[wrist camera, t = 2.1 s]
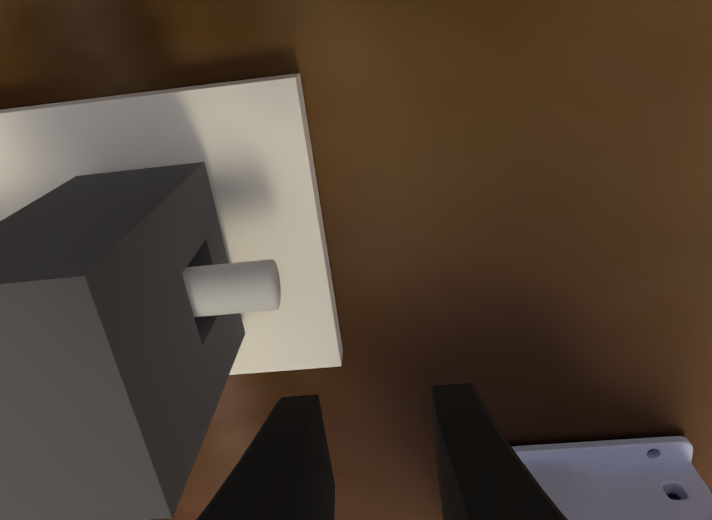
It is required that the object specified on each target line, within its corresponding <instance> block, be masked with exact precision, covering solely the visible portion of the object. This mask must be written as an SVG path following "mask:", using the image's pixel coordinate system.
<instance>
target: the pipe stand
mask: <svg viewBox="0 0 712 520" xmlns="http://www.w3.org/2000/svg"><path fill="white" fill-rule="evenodd" d="M198 162H205V166H206V170H207V174H208V178H209V183H210V187H211V191H212V195H213V199H214V204H215V208H216V212H217V216H218V220H219V225H220V229H221V233H222V237H223V241H224V246H225V250H226V254H227V258H228V262H229V263H227V264H216V265H206V266H195V267H186V268H185V270H184V271H183V273H182V275H183V279H184V282H185V286H186V290H187V293H188V297H189V300H190V304H191V308H192V311H193V315H194V317H202V316H213V315H225V314H236V313H241V317H242V321H243V325H244V330H245V336H244V338H243V341H242V343H241V346H240V348H239V351H238V353H237V356H236V358H235V361H234V364H233V366H232V369H231V371H230V374H229V375H235V374H248V373H261V372H274V371H287V370H300V369H313V368H326V367H338V366H341V364H342V354H343V348H342V341H341V335H340V328H339V322H338V316H337V309H336V303H335V296H334V290H333V283H332V277H331V270H330V264H329V257H328V251H327V245H326V238H325V232H324V225H323V219H322V212H321V206H320V199H319V193H318V187H317V180H316V174H315V167H314V161H313V154H312V148H311V141H310V135H309V129H308V122H307V116H306V109H305V103H304V96H303V90H302V83H301V77H300V73H296V74H287V75H279V76H271V77H263V78H255V79H247V80H238V81H230V82H222V83H214V84H206V85H198V86H189V87H181V88H173V89H165V90H157V91H149V92H140V93H132V94H124V95H116V96H108V97H100V98H91V99H83V100H75V101H67V102H59V103H51V104H43V105H34V106H26V107H18V108H10V109H2V110H0V221H1V220H3V219H5V218H6V217H8V216H10V215H12V214H13V213H15V212H17V211H18V210H20V209H22V208H23V207H25V206H27V205H28V204H30V203H32V202H33V201H35V200H37V199H38V198H40V197H42V196H43V195H45V194H47V193H48V192H50V191H52V190H53V189H55V188H57V187H58V186H60V185H62V184H63V183H65V182H67V181H69V180H70V179H72V178H74V177H75V176H81V175H90V174H99V173H108V172H117V171H126V170H135V169H144V168H153V167H162V166H171V165H180V164H189V163H198Z"/></svg>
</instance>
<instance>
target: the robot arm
mask: <svg viewBox="0 0 712 520" xmlns="http://www.w3.org/2000/svg"><path fill="white" fill-rule="evenodd" d="M431 387H432V399H433V412H434V425H435V438H436V450H437V463H438V476H439V485H440V494H441V503H442V511H443V520H712V493H711V492H710V490H709V489H708V487H707V486H706V484H705V483H704V481H703V480H702V478H701V477H700V475H699V474H698V472H697V471H696V469H695V468H694V466H693V465H692V463H691V460H692V454H693V446H692V445H691V444H690V442H689V441H688V440H687V438H685V437H683V436H668V437H653V438H637V439H621V440H605V441H589V442H574V443H558V444H542V445H526V446H511V445H510V444H509V442H508V441H507V439H506V438H505V436H504V435H503V433H502V432H501V430H500V429H499V427H498V426H497V424H496V422H495V421H494V419H493V418H492V416H491V414H490V413H489V411H488V409H487V408H486V406H485V404H484V402H483V400H482V399H481V397H480V395H479V393H478V391H477V389H476V388H475V387H474V386H472V385H471V384H470V383H465V384H452V385H439V386H431ZM651 449H654V450H652V451H649V450H651ZM648 451H649V452H648ZM334 505H335V483H334V477H333V472H332V467H331V461H330V456H329V451H328V445H327V440H326V435H325V429H324V424H323V418H322V413H321V408H320V402H319V397H318V395H306V396H292V397H282V398H281V399H280V400H279V401H278V402H277V403H276V405H275V406H274V408H273V410H272V411H271V413H270V414H269V416H268V417H267V419H266V421H265V422H264V424H263V425H262V427H261V429H260V430H259V432H258V433H257V435H256V436H255V438H254V439H253V441H252V442H251V444H250V445H249V447H248V448H247V450H246V451H245V453H244V454H243V456H242V457H241V459H240V460H239V462H238V463H237V465H236V466H235V467H234V469H233V470H232V472H231V473H230V475H229V476H228V477H227V479H226V480H225V482H224V483H223V484H222V486H221V487H220V489H219V490H218V491H217V493H216V494H215V496H214V497H213V499H212V500H211V501H210V503H209V504H208V505H207V507H206V508H205V509H204V511H203V512H202V513H201V514H200V516H199V517H198V518H197V520H334Z"/></svg>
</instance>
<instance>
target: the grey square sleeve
mask: <svg viewBox="0 0 712 520" xmlns="http://www.w3.org/2000/svg"><path fill="white" fill-rule="evenodd" d="M227 263H229V262H228V258H227V254H226V250H225V246H224V241H223V237H222V233H221V229H220V225H219V220H218V216H217V212H216V208H215V204H214V199H213V195H212V191H211V187H210V183H209V178H208V174H207V170H206V166H205V162H198V163H189V164H180V165H171V166H162V167H153V168H144V169H135V170H126V171H117V172H108V173H99V174H90V175H81V176H75V177H74V178H72V179H70V180H69V181H67V182H65V183H63V184H62V185H60V186H58V187H57V188H55V189H53V190H52V191H50V192H48V193H47V194H45V195H43V196H42V197H40V198H38V199H37V200H35V201H33V202H32V203H30V204H28V205H27V206H25V207H23V208H22V209H20V210H18V211H17V212H15V213H13V214H12V215H10V216H8V217H6V218H5V219H3V220H1V221H0V520H153V519H171V518H172V517H173V515H174V512H175V510H176V507H177V505H178V502H179V500H180V497H181V495H182V492H183V490H184V487H185V485H186V482H187V480H188V477H189V475H190V472H191V470H192V467H193V464H194V462H195V459H196V457H197V454H198V452H199V449H200V447H201V444H202V442H203V439H204V437H205V434H206V432H207V429H208V427H209V424H210V422H211V419H212V417H213V414H214V411H215V409H216V406H217V404H218V401H219V399H220V396H221V394H222V391H223V389H224V386H225V384H226V381H227V379H228V376H229V374H230V371H231V369H232V366H233V364H234V361H235V358H236V356H237V353H238V351H239V348H240V346H241V343H242V341H243V338H244V336H245V330H244V325H243V321H242V317H241V313H236V314H225V315H213V316H202V317H194V315H193V311H192V308H191V304H190V300H189V297H188V293H187V290H186V286H185V282H184V279H183V275H182V273H183V271H184V270H185V268H186V267H195V266H206V265H216V264H227Z"/></svg>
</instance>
